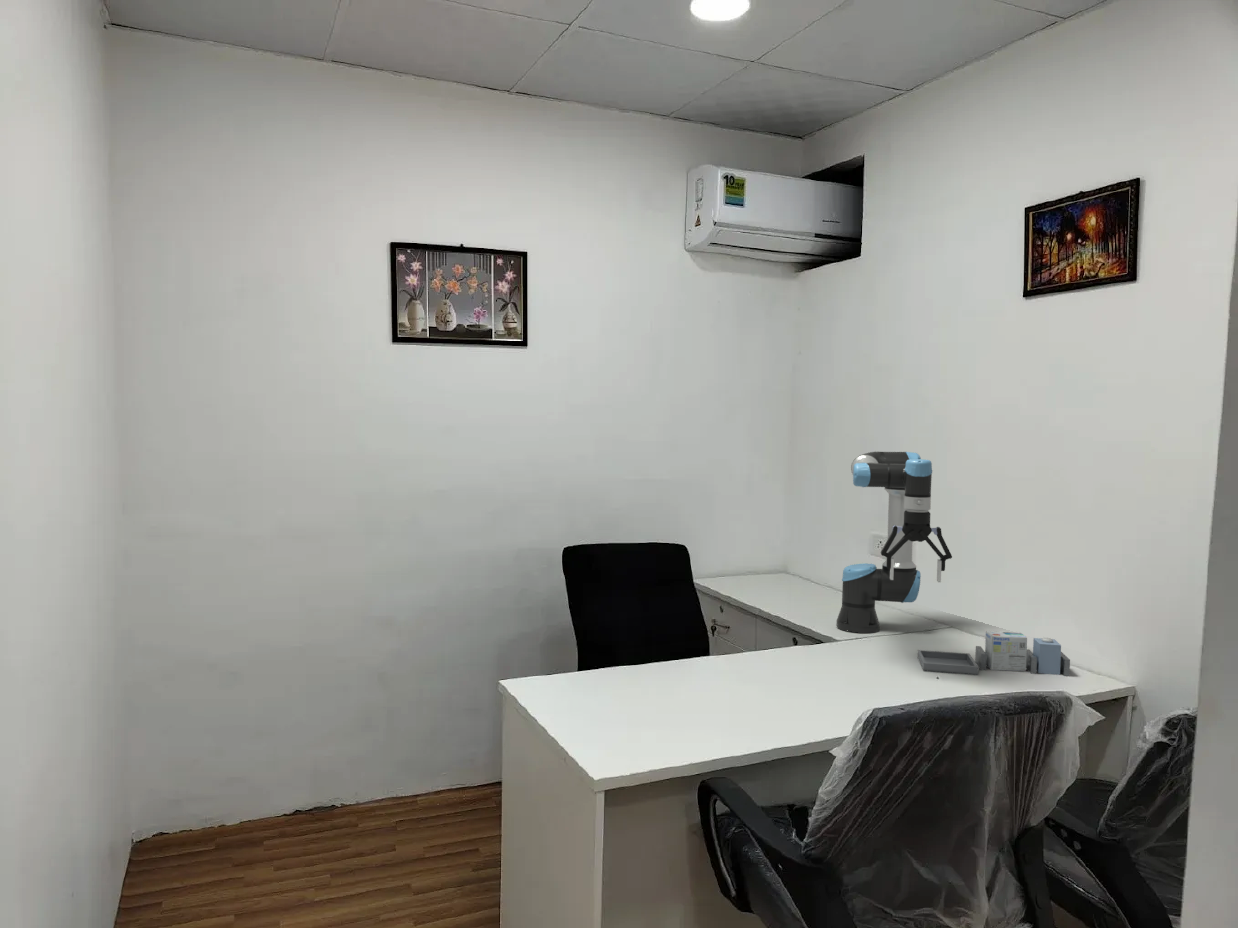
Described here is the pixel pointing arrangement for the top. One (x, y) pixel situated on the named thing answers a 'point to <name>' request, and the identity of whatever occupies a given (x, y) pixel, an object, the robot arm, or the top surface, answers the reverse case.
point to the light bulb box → (1006, 650)
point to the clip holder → (1030, 661)
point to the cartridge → (1047, 655)
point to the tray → (947, 662)
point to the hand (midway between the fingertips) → (915, 580)
